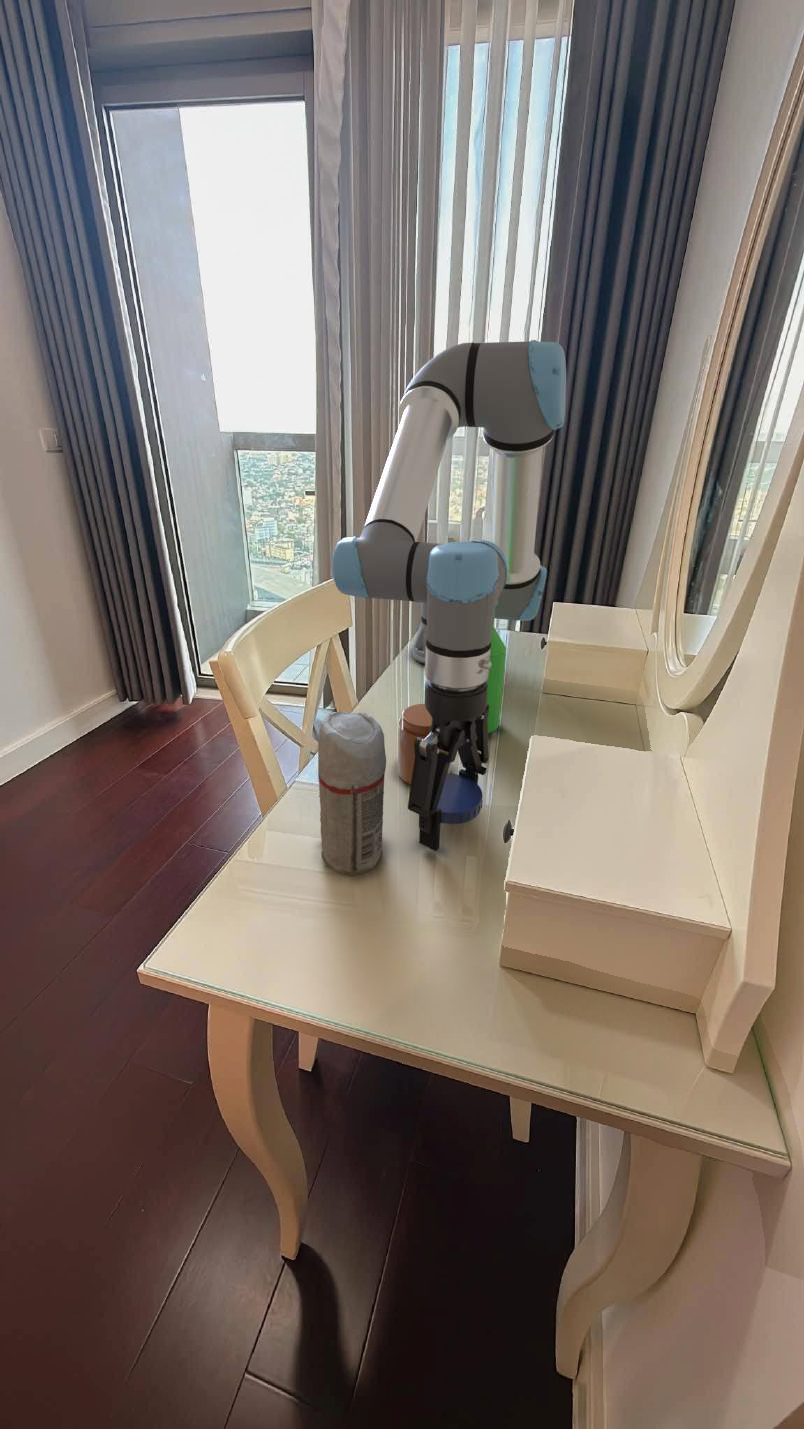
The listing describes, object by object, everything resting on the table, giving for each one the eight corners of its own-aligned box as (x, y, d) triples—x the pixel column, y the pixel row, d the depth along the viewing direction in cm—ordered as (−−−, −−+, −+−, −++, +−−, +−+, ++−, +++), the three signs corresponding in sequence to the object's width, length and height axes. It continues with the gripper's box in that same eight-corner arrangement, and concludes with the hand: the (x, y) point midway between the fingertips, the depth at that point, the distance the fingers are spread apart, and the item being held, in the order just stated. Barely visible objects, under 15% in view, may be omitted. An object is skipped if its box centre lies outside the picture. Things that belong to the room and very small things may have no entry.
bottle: (497, 716, 107) (510, 587, 95) (499, 739, 100) (514, 602, 88) (450, 713, 108) (457, 585, 96) (449, 737, 101) (457, 600, 88)
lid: (459, 833, 71) (460, 822, 70) (404, 807, 75) (404, 795, 74) (493, 800, 77) (494, 788, 76) (440, 777, 81) (441, 766, 80)
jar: (406, 754, 96) (407, 698, 91) (455, 762, 93) (458, 706, 88) (391, 781, 89) (390, 723, 83) (443, 791, 86) (446, 732, 81)
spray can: (357, 824, 80) (351, 698, 70) (397, 853, 75) (398, 721, 65) (308, 853, 74) (295, 721, 65) (348, 886, 69) (340, 749, 60)
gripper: (431, 723, 58) (426, 885, 68) (525, 658, 73) (508, 800, 83) (375, 703, 62) (378, 858, 72) (475, 645, 76) (465, 782, 87)
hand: (448, 827), depth 78 cm, fingers closed on lid, 8 cm apart
